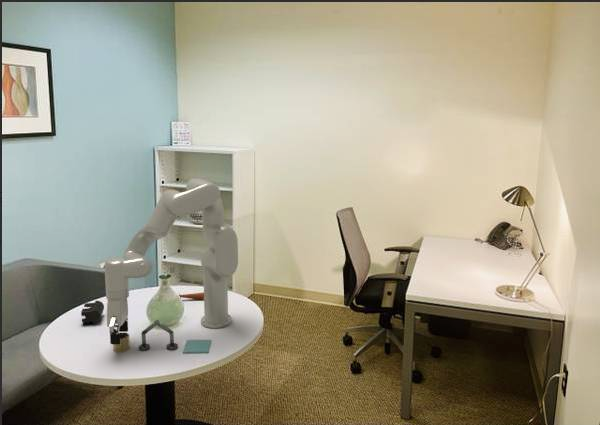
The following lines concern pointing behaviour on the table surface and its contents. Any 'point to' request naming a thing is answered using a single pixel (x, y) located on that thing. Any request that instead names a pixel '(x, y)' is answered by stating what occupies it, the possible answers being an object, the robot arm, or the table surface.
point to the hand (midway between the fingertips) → (119, 337)
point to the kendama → (193, 296)
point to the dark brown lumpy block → (92, 313)
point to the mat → (196, 346)
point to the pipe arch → (172, 345)
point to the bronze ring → (122, 343)
